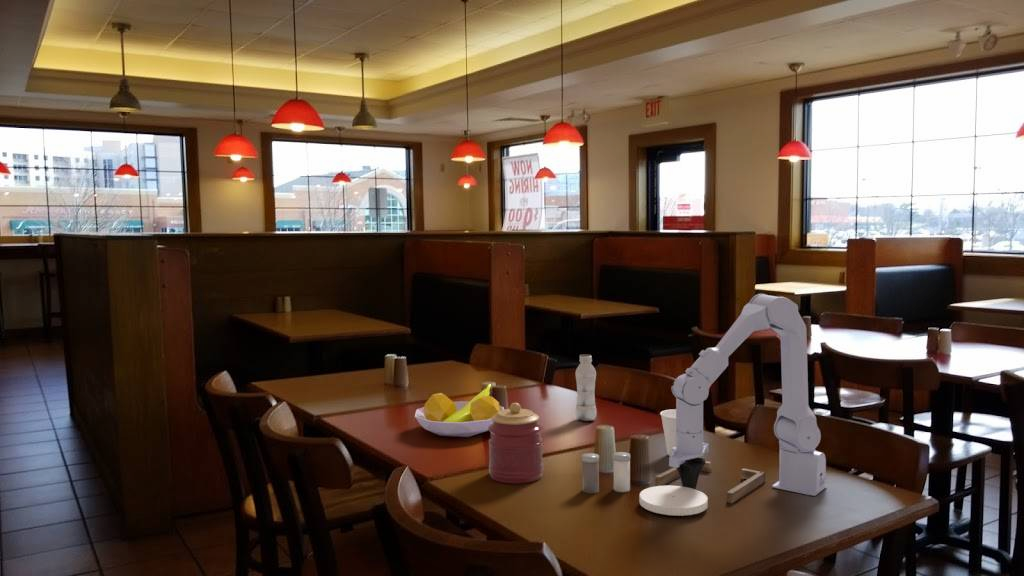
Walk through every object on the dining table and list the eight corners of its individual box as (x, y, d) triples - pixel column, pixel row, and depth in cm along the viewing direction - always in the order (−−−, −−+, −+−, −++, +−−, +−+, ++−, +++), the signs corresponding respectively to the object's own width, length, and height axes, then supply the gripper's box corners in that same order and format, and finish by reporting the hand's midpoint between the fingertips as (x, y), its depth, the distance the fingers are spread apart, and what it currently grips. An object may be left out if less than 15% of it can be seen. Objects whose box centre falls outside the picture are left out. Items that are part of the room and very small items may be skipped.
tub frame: (765, 482, 179) (765, 472, 179) (732, 503, 166) (732, 493, 166) (691, 467, 191) (691, 458, 191) (655, 486, 178) (655, 476, 177)
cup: (671, 463, 194) (671, 419, 194) (653, 452, 204) (653, 410, 203) (706, 459, 197) (707, 416, 196) (687, 448, 207) (688, 407, 206)
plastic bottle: (596, 417, 241) (596, 353, 240) (596, 423, 235) (596, 357, 233) (575, 417, 242) (575, 353, 241) (575, 423, 235) (574, 357, 234)
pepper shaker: (602, 490, 175) (602, 455, 175) (593, 494, 172) (592, 459, 172) (588, 486, 178) (588, 452, 177) (578, 491, 175) (578, 456, 174)
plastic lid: (701, 524, 155) (701, 511, 155) (632, 515, 160) (632, 503, 160) (712, 501, 168) (712, 489, 168) (647, 493, 173) (647, 482, 173)
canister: (481, 471, 190) (480, 399, 189) (531, 465, 195) (530, 395, 193) (499, 487, 178) (498, 411, 177) (552, 480, 182) (551, 406, 181)
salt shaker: (633, 488, 176) (633, 454, 175) (624, 493, 173) (624, 458, 172) (619, 485, 178) (619, 451, 178) (610, 489, 175) (609, 454, 175)
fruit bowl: (450, 449, 210) (450, 407, 209) (397, 430, 230) (396, 392, 230) (530, 431, 227) (529, 392, 226) (474, 414, 248) (473, 379, 247)
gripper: (688, 421, 177) (688, 479, 179) (656, 434, 166) (656, 496, 167) (717, 425, 173) (717, 485, 174) (686, 439, 162) (686, 503, 163)
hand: (689, 491), depth 170 cm, fingers closed
